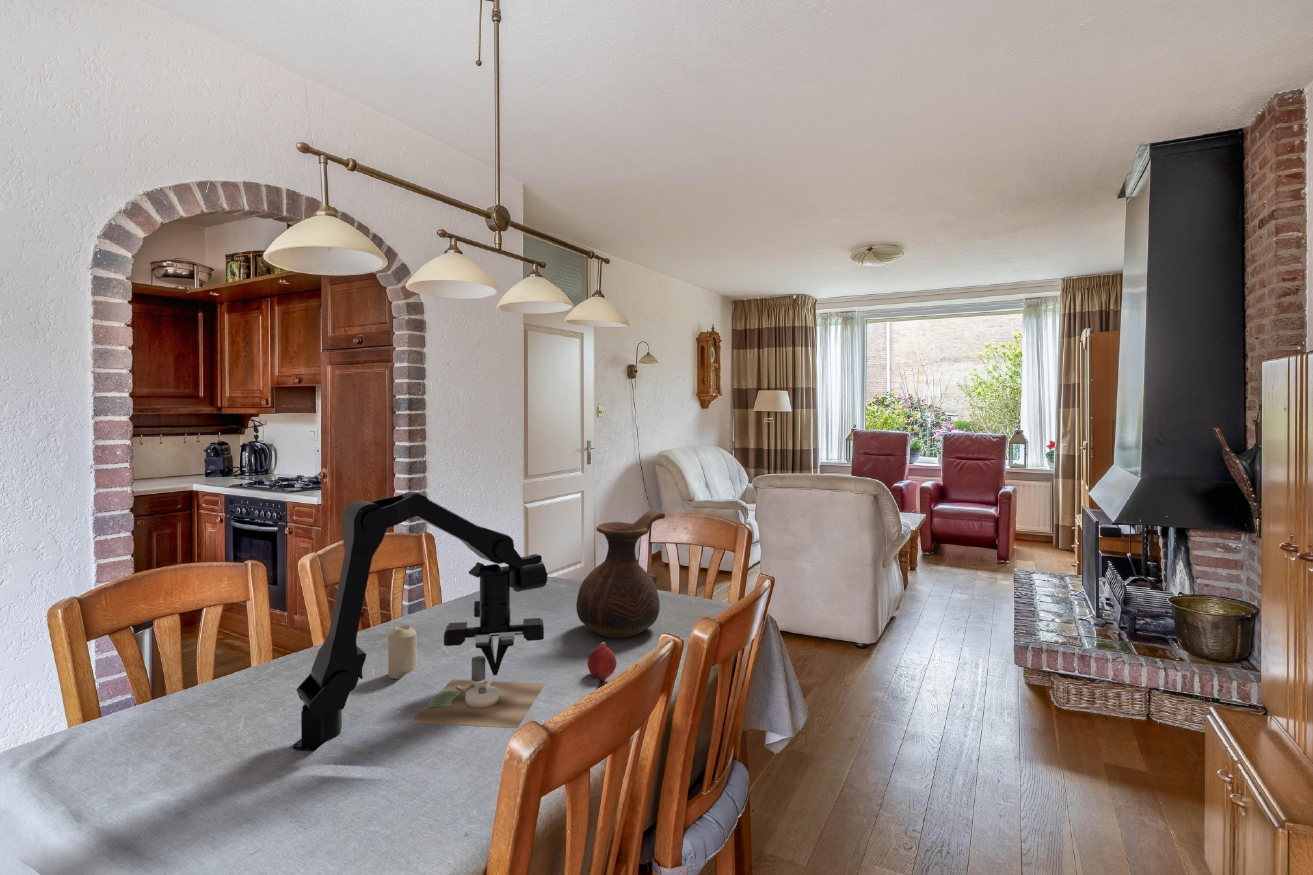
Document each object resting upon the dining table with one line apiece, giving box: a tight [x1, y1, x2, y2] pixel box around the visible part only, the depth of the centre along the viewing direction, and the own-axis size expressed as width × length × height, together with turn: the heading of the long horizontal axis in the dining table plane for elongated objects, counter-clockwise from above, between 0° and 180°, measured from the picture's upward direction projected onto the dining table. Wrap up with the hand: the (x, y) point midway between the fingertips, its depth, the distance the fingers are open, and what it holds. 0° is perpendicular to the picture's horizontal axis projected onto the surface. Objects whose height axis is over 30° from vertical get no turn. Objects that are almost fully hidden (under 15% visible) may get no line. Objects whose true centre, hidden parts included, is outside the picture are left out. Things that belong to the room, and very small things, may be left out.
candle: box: [387, 624, 417, 680], centre depth 139 cm, size 6×6×10 cm
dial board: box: [409, 679, 546, 729], centre depth 124 cm, size 19×19×2 cm
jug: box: [576, 509, 666, 639], centre depth 169 cm, size 22×22×30 cm
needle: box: [465, 655, 499, 708], centre depth 126 cm, size 12×6×5 cm, turn 20°
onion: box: [587, 641, 617, 682], centre depth 137 cm, size 6×6×8 cm
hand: (495, 674), depth 131 cm, fingers closed
